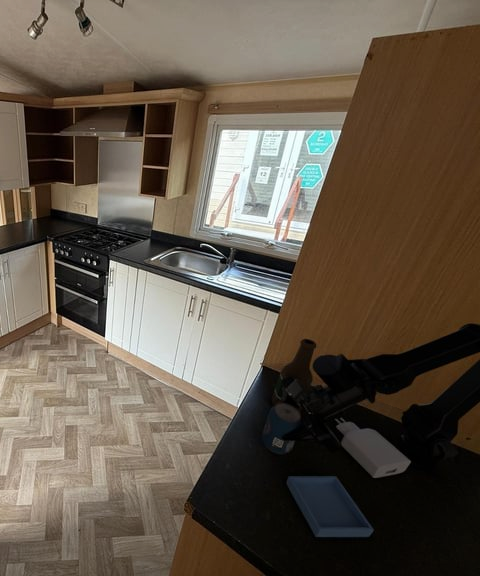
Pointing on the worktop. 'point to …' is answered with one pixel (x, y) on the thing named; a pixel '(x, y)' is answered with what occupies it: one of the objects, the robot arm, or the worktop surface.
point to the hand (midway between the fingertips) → (276, 426)
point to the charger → (372, 450)
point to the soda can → (281, 427)
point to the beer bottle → (296, 369)
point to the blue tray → (328, 507)
